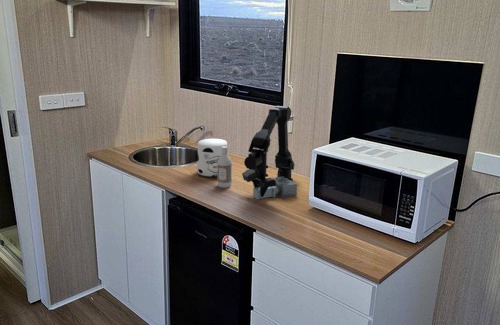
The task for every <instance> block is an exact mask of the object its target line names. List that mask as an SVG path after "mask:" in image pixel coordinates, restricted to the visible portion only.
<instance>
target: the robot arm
mask: <svg viewBox="0 0 500 325" xmlns="http://www.w3.org/2000/svg"><path fill="white" fill-rule="evenodd" d="M291 116H292V109H291V107H290V106H286V105H285V106H284V105H276V106H275V107H271V108H269V110H268V114H267V116H266V118H265V121H264V122H263V125H262V127H261V129H260V130H259V131H257V132H256V133H255V134H254V136H253V137H252V139H251V141H250V145H249V147H248V151H247V152H248V156H247V157H245V159H244V161H243V162H244V166H245V167H246V170H245V171H244V172H242V173H241V175H242V179H243V181H244V182H245V181H246V182H247V183H252V185H253V188H256V187H260V194H261V197H263V196H264V194H265V192H266V191H267V189H268V187H272V186H276V181H275V180H274V179H272V178H273V177H269V174H268V173H267V169H269V165H267V163H268V162H267V161H268V160H267V158H268V157H267V156H268V152H269V148H270V146H271V134H272V132H273V131H274V129H275V126H276V124H277V141H278V142H277V143H278V152H276V154H275V156H274V158H275V159H274V164H275V168H276V169H277V168H278V171H277V176H276V177H282V176H283V177H285V178H287V179H289V180H291V181H293V180H294V178H292V171H294V170H295V162H294V160H293V156H292V153H291V152H290V150H289V138H288V137H289V134H288V130H289V129H288V124H289V123H288V122H290V119H291Z"/></svg>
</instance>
